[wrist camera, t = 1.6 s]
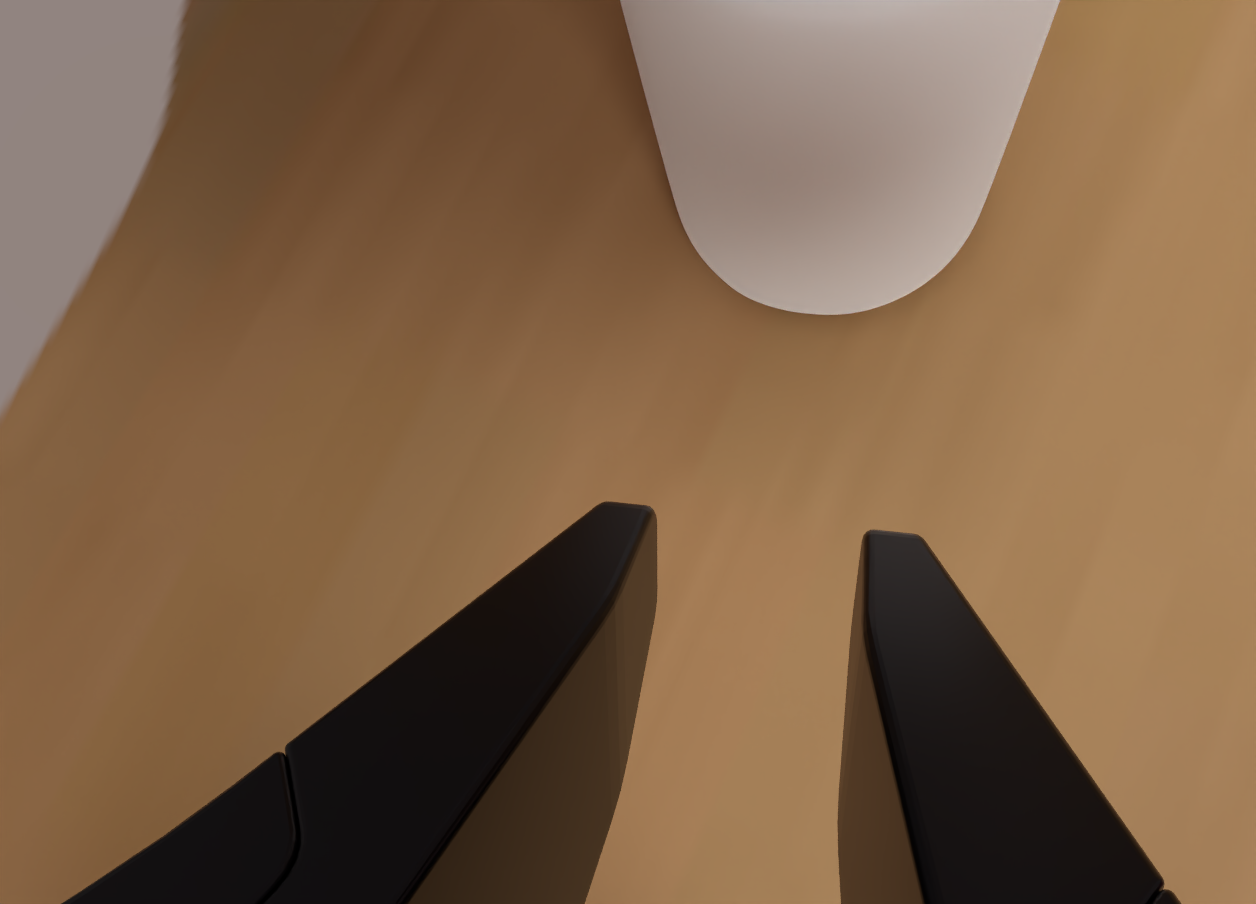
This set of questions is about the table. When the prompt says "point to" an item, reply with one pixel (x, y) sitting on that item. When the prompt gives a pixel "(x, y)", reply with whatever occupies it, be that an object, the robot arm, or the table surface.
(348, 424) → the table surface
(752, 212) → the can
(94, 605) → the table surface
